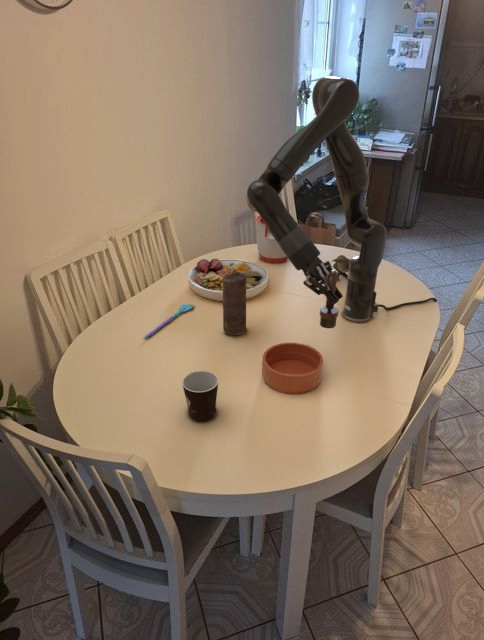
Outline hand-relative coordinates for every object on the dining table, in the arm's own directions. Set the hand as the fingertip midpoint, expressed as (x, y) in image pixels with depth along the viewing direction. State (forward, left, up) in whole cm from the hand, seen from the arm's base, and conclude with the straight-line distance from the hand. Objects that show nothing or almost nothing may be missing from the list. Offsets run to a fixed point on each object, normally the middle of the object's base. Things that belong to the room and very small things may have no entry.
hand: (337, 300), depth 130 cm
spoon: (+41, -38, -22) cm, 60 cm away
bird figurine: (-29, -55, -22) cm, 66 cm away
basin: (+12, +1, -22) cm, 25 cm away
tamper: (+1, -1, -8) cm, 8 cm away
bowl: (+16, -59, -22) cm, 65 cm away
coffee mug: (+40, +12, -22) cm, 47 cm away
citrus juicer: (-9, -81, -22) cm, 85 cm away
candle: (+22, -26, -22) cm, 41 cm away
